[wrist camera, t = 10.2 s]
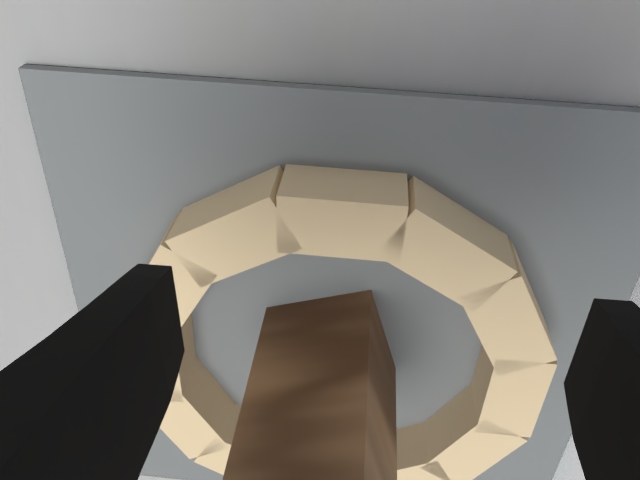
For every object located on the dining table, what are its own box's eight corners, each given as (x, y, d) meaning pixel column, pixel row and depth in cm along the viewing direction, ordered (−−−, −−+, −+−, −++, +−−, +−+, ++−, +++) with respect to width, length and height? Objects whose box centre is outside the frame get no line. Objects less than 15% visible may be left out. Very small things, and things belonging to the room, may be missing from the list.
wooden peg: (370, 289, 22) (363, 492, 15) (395, 367, 24) (398, 576, 17) (266, 307, 22) (215, 505, 16) (299, 380, 25) (266, 583, 18)
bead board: (700, 111, 17) (741, 148, 15) (533, 510, 29) (544, 560, 27) (25, 64, 18) (-20, 92, 16) (121, 465, 30) (102, 511, 28)
